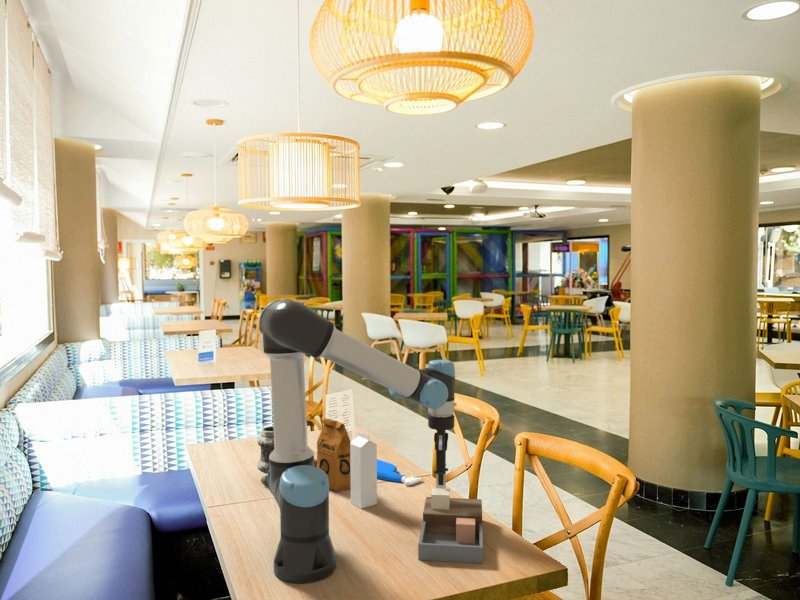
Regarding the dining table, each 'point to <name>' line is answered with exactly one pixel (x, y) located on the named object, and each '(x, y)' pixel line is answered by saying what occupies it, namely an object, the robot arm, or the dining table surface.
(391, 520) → the dining table surface
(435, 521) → the block
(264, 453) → the dark stone vase
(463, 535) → the salmon orange block
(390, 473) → the spray bottle
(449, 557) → the box
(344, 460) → the coffee package
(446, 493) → the cream block
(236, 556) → the dining table surface
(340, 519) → the dining table surface
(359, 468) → the milk
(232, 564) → the dining table surface
